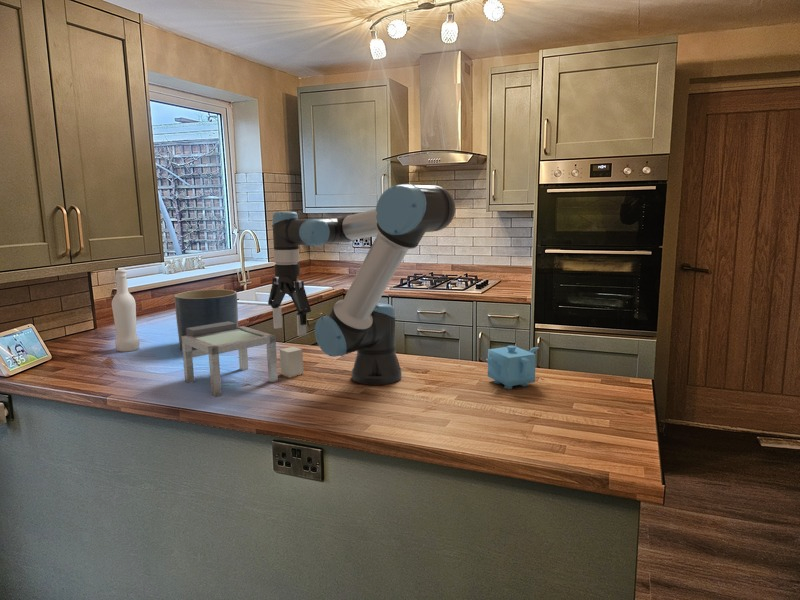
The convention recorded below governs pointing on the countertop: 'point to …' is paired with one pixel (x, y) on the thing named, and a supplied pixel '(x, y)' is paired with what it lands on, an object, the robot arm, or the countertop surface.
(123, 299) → the bottle
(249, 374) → the countertop surface
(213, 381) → the frame
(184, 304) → the planter
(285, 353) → the cream rectangular block
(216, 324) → the trapdoor
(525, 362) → the teapot
